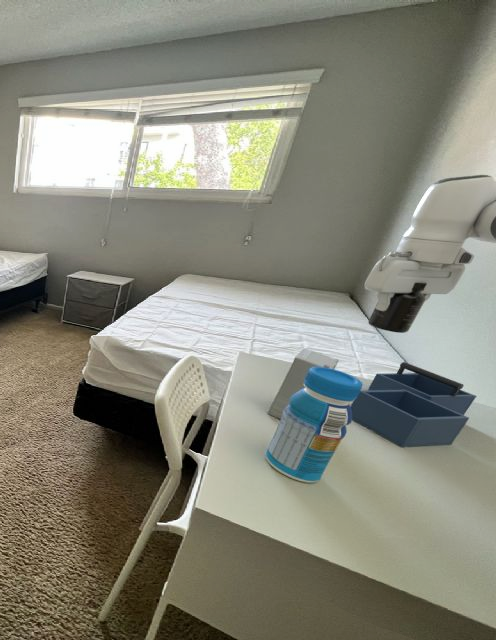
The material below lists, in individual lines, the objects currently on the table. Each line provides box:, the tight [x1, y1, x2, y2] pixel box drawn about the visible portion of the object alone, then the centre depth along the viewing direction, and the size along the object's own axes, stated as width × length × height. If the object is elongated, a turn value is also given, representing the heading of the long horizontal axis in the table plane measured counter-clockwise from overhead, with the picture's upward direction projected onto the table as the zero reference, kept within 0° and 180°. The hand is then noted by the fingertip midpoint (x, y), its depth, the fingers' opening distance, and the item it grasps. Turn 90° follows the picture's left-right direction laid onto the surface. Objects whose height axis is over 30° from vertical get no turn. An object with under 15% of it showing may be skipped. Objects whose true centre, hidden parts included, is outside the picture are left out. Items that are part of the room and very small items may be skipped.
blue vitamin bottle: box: [265, 367, 363, 484], centre depth 62 cm, size 8×8×20 cm
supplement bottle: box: [367, 283, 427, 334], centre depth 83 cm, size 7×7×12 cm
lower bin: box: [350, 389, 470, 448], centre depth 78 cm, size 13×11×7 cm
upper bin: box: [367, 361, 477, 416], centre depth 87 cm, size 13×11×10 cm
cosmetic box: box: [267, 348, 340, 420], centre depth 79 cm, size 8×7×16 cm
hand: (396, 310), depth 83 cm, fingers closed on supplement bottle, 7 cm apart
